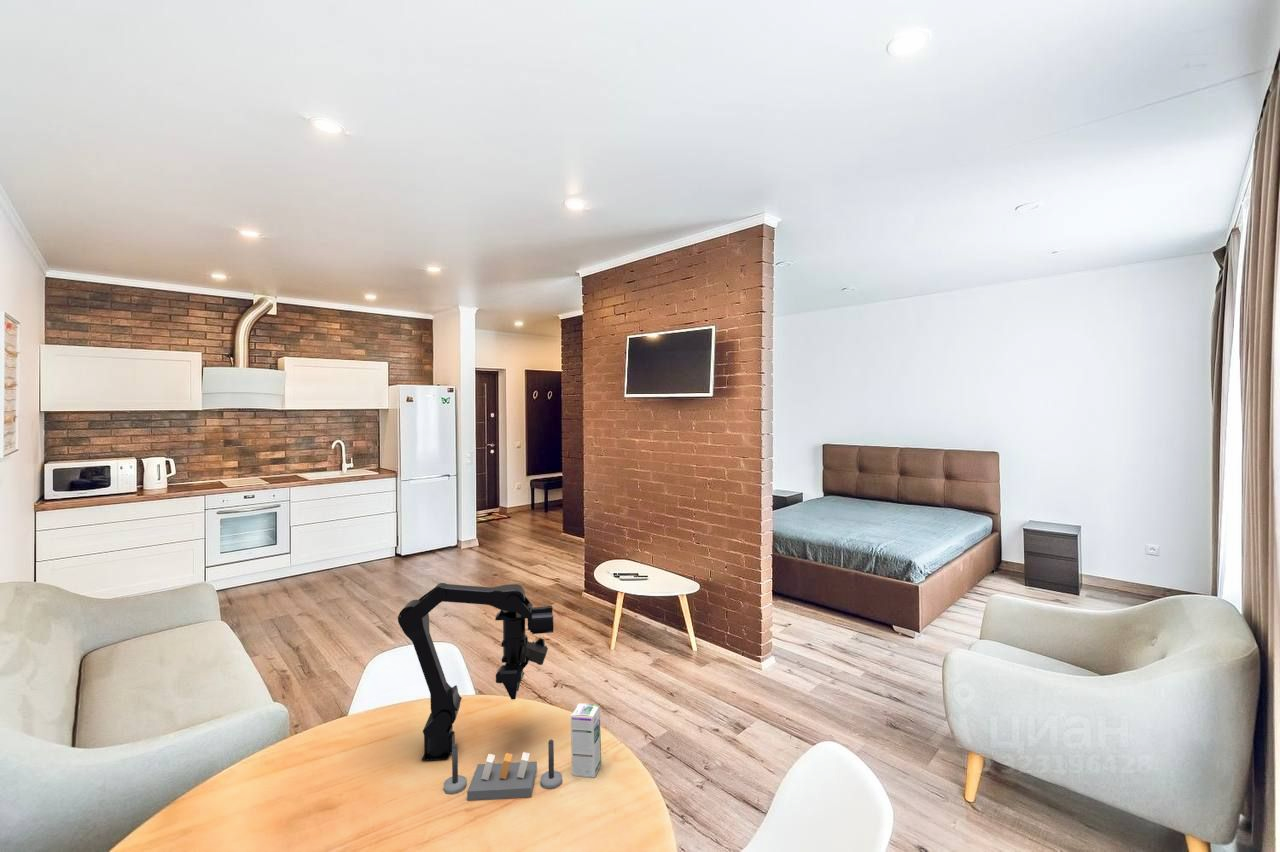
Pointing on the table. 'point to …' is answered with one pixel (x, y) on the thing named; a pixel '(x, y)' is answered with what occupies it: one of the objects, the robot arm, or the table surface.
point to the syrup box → (586, 740)
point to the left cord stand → (455, 776)
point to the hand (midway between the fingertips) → (514, 695)
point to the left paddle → (488, 767)
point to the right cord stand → (551, 771)
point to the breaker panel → (502, 783)
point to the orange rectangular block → (505, 766)
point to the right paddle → (523, 765)
